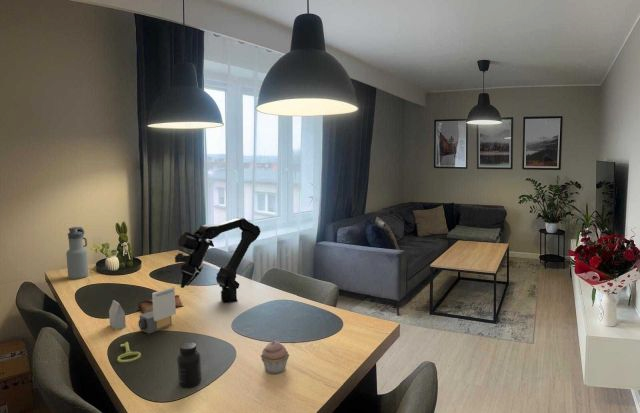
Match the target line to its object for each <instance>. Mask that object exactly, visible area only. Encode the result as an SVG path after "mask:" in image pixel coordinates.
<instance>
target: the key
mask: <svg viewBox="0 0 640 413" xmlns="http://www.w3.org/2000/svg"><path fill="white" fill-rule="evenodd" d="M129 345H130V344H129V342H128V341H126V342H124V343H121V344H120V348H123V347H125V353H121V354H120V355H119V356H117V360H116V361H117V362H118V363H129V362H133V361H136V360H139V359H140V358H141V357H142V353H141V352H140V351H132V350H130V346H129ZM129 356H130V357H131V356H135V357H132V358H130V359H122V358H125V357H129Z"/></svg>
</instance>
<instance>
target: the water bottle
mask: <svg viewBox="0 0 640 413" xmlns="http://www.w3.org/2000/svg"><path fill="white" fill-rule="evenodd" d="M68 231H69V232H68V233H67V240H68V248H69V249H68V250H67V251H66V264H67V265H66V267H67V276H68V279H69V280H80V279H85V278H86V277H88V276H89V264H88V252H87V249H86V248H85V247H88V240H87V238H86V237H84V235H85V234H86V233H85V229H84V228H83V227H81V226H73V227H69V228H68ZM83 240H84V241H85V242H84V243H85V244H84V243H83Z"/></svg>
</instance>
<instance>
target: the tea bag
mask: <svg viewBox="0 0 640 413" xmlns="http://www.w3.org/2000/svg"><path fill="white" fill-rule="evenodd" d="M108 316H109V317H108V318H109V326H111V327H112V328H113V329H114V330H115V331H118V330H120V329H124V328H126V327H127V324H126V312H125V311H124V309H123V307H122V305H121V304H120V303H119V302H118V301H116V300H113V299H112V303H111V305H110V308H109V310H108Z"/></svg>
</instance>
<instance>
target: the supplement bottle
mask: <svg viewBox="0 0 640 413" xmlns="http://www.w3.org/2000/svg"><path fill="white" fill-rule="evenodd" d="M201 362H202V360H201V354H200V352H199V351H198V348H197V344H196V342H193V341H188V342H187V341H186V342H184V343H182V344H180V345H179V354H178V355H177V356H176V366H177V368H176V369H177V379H178V380H177V381H178V386H179V387H181V388H182V389H191V388H195V387H197V386H198V385H200V384H201V382H202V377H203V376H202V363H201Z"/></svg>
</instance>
